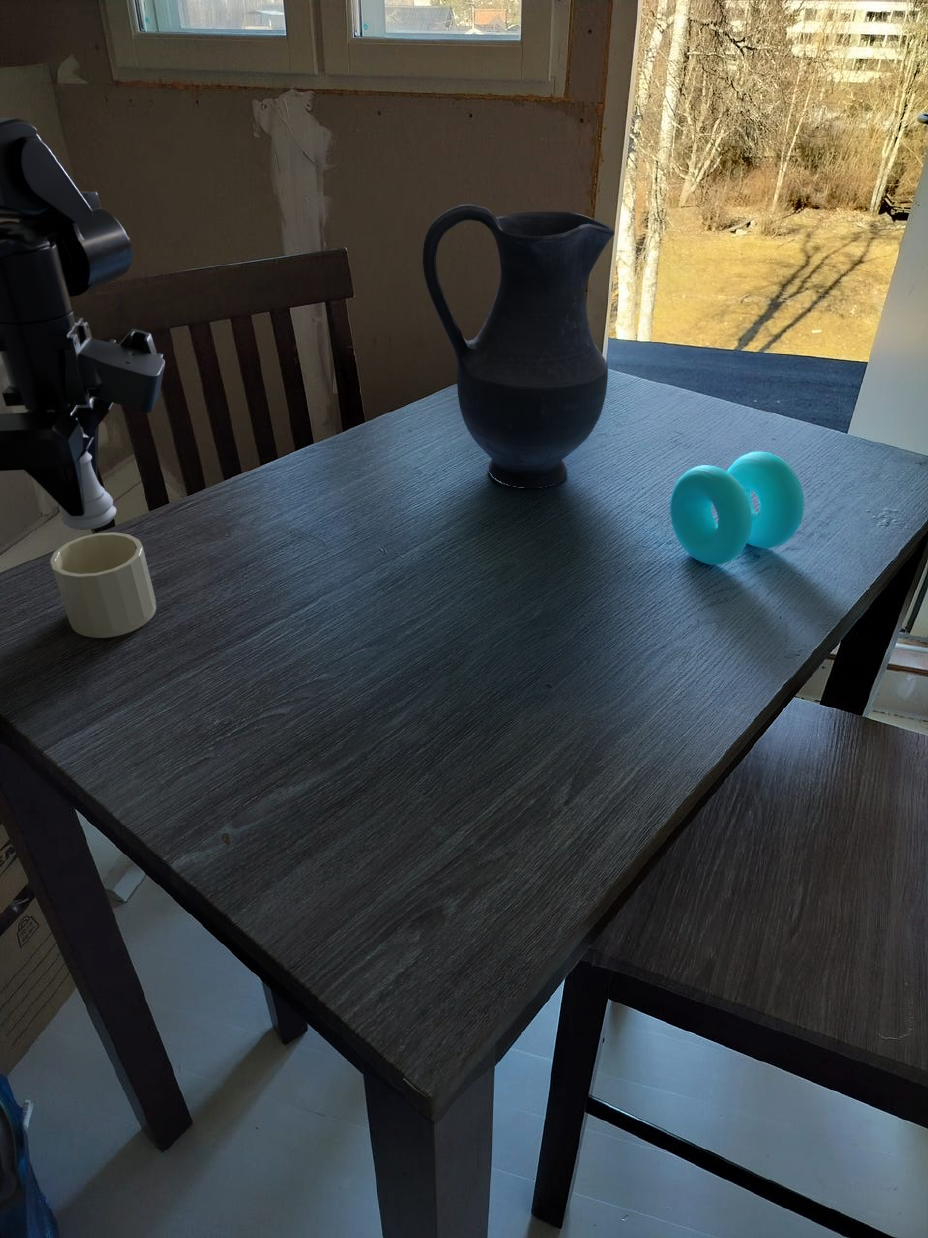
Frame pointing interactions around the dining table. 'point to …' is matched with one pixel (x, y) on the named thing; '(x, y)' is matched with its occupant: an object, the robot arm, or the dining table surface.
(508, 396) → the pitcher
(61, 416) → the robot arm
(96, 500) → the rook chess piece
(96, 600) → the cup
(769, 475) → the donuts
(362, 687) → the dining table surface
